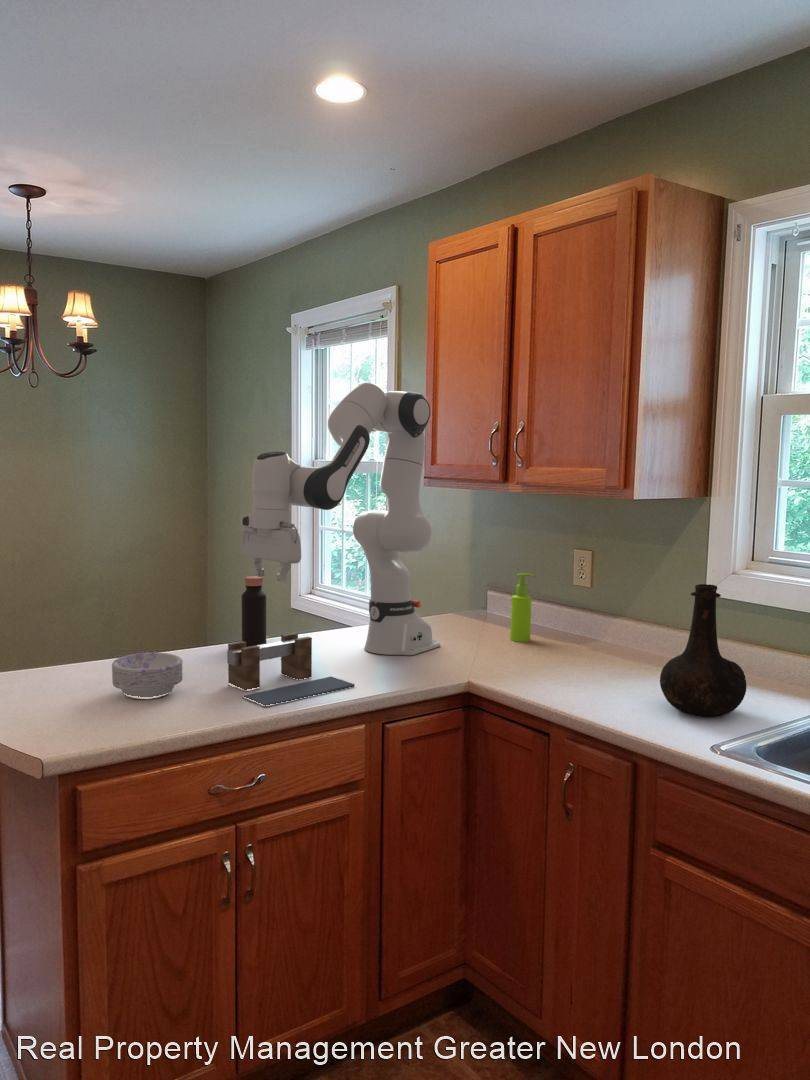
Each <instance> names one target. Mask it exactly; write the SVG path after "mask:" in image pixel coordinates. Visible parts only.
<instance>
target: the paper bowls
mask: <svg viewBox="0 0 810 1080" xmlns="http://www.w3.org/2000/svg"><path fill="white" fill-rule="evenodd" d="M111 673H112V674H111V679H112V686H113V687H115V688H117V689H120V690H121V691H122V693H123V694H124V693H125V694H127V695H131V696H138V697H139V696H140V697H153V696H159V695H163V694H166V693H169V692H170V693H171V692H172V691H173V689H174V688H175V686H176V685H177V684H178V685H179V684H180V683H181V682H182V681H183V677H184V676H183V659H182V657H180V656H179V655H177V654H173V653H168V652H167V653H166V652H140V653H134V654H129V655H128V654H127V655H124V656H121V657H118V658H116V659H114V660H113V661H112V663H111ZM170 693H169V694H170Z"/></svg>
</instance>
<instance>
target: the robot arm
mask: <svg viewBox="0 0 810 1080" xmlns="http://www.w3.org/2000/svg"><path fill="white" fill-rule="evenodd" d="M430 416H431V407H430V403H429V402H428V398H427V397H426V396H425V395H424V394H422V393H420V392H415V391H400V390H390V391H384V390H383V388H382V387H380V386H379V385H377V384H375V383H373V382H363V383H361V384H359V385H358V386H356V387H355V388H354V389H352V390H351V391H349V393H348V394H346V396H344V397H343V399H341V401H340V402H339V403H338V404H337V405H336V407H335V408H334V409H333V411H331V413H330V415H329V417H328V419H327V430H328V433H329V435H330V437H331V439H332V440H333V441H334V442H335V443H336V444H337V445H338V446H339V448H338V450H337V451H336V453H335V455H334V456H333V459H332V460H331V461H330V462H329V463H327V464H325V465H321V466H316V467H315V466H302V465H301V464H299V463H296V462H295V461H294V460H293V459H291V458H290V456H289V455H288V453H287V452H285V451H269V452H264V453H261V454H259V455H258V456H256V458H255V460H254V463H253V469H252V493H253V503H252V508H251V512H250V513H248V514H245V516H242V517H241V518H240V525H241V526H242V529H241V532H240V533H241V535H240V537H241V539H240V542H241V545H240V546H241V552H242V554H243V556H244V557H249V558H251V562H252V566H253V568H254V576H258V577H263V578H264V576H265V569H264V568H263V565H262V562H263V560H266V561H272V562H277V563H279V568H280V570H279V573H277V574H276V577H277V578H276V580H277V581H278V582H282V583H283V582H287V581H288V573H289V571H290V568H291V564H294V565H295V564H299V563H300V562H301V560H302V543H301V537H300V533H299V531H298V530H299V529H298V528H297V527H296V525H295V523H291V506H296V507H303V508H305V507H306V508H314V509H320V510H324V511H329V510H333V509H334V508H336V507H337V506H338V505H339V504H340V503H341V501H342V500H343V498H344V495H345V493H346V490H347V487H348V484H349V482H350V480H351V478H352V477H353V475H354V474H355V472H356V470H357V468H358V467H359V465H360V463H361V461H362V459H363V458H364V456H365V454H366V452H367V450H368V448H369V447H370V446H369V445H370V443H371V437H370V436H371V433H372V432H380V433H387V437H388V442H387V444H386V449H385V452H384V458H383V464H382V468H381V473H380V474H381V475H380V480H379V488H380V490H381V492H382V493H383V494H384V495H385V496H386V499H387V510H380V509H373V510H368V511H364V512H361V513H359V514H358V515H357V516H356V518H355V519H354V522H353V526H352V533H353V537H354V539H355V540H356V542H357V543H358V544H359V545H360V546H361V548H362V550H363V551H364V554H365V557H366V560H367V564H368V567H369V573H370V574H369V575H370V598H369V602H368V613H369V622H368V630H367V631H368V632H367V637H366V641H365V644H364V648H363V649H364V651H366V652H369V653H373V654H379V655H388V656H389V655H395V656H397V655H398V656H399V655H401V656H414V655H417V654H421V653H423V652H427V651H431V650H432V649H436V648H439V647H441V642H440V641H438V640H436V639H435V638H434V639H433V632H432V627H431V625H430V624H429V623H428V622H427V621H426V620H424V619H423V618H422V617H421V616H420V615H419V614H418V613H417V612H416V610H415V608H417V609H418V608H421V606H422V602H421V600H417V599H414V600H412V599H411V573H410V570H409V569H408V567H407V566H405V564H404V563H403V560H402V559H401V557H400V554H399V553H406V554H407V553H408V554H409V553H415V552H421V551H423V550H425V549H426V548H427V547H428V546H429V543H430V542H431V538H432V527H431V524H430V522H429V520H428V519H427V518H426V517H425V515H424V513H423V510H422V507H421V503H420V502H421V501H420V487H421V479H422V473H423V465H424V461H425V442H426V441H425V438H426V437H425V434H424V433H425V432H424V431H425V429H426V427H427V425H428V424H429V420H430Z"/></svg>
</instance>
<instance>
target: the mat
mask: <svg viewBox="0 0 810 1080" xmlns="http://www.w3.org/2000/svg"><path fill="white" fill-rule="evenodd" d="M354 686H355V687H356V685H355V683H352V682H350V681H346V680H343V679H340V678H337V677H334V676H328V677H322V678H317V679H313V680H309V681H304V682H299V683H295V684H290V685H285V686H281V687H277V688H272V689H266V690H262V691H259V692H253V693H249V694H244V695H242V697H243V696H244V697H246V698H249V699H251V700H254V701H256V702H258V703H261V704H263V705H265V706H266V705H270V704H276V703H281V702H286V701H291V700H295V699H300V698H304V697H308V696H313V695H317V696H319V695H318V694H321V695H323V694H322V693H326V694H328V693H327V692H330V693H333V692H332V691H334V692H337V691H336V690H339V691H342V690H341V689H343V690H346V689H345V688H347V689H350V688H349V687H351V688H354ZM313 697H314V696H313ZM304 699H305V698H304ZM300 700H301V699H300Z"/></svg>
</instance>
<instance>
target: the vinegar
mask: <svg viewBox="0 0 810 1080" xmlns="http://www.w3.org/2000/svg"><path fill="white" fill-rule="evenodd" d="M263 579H264V576H263V577H258V576H255V575H251V576H250V575H248V576H245V577H244V586H245V588H246V589H245V591H244V592H243V593H242V594H241V641H244V642H246V647H250V646H256V645H262V644H267V594H266V593H265V592H264V591H263V590H262V589H263V588H262V587H263V584H264V583H263V582H264V581H263Z"/></svg>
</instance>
